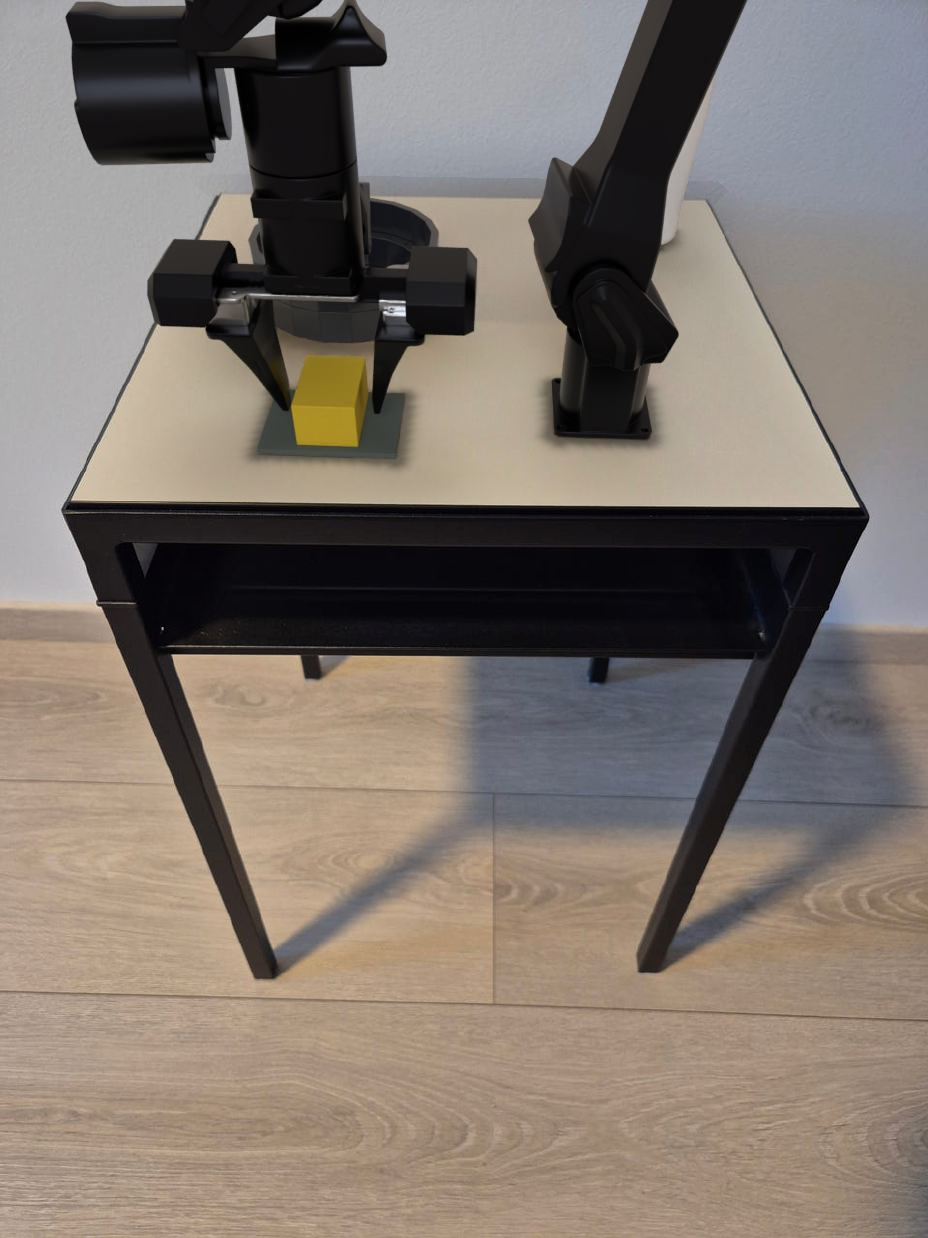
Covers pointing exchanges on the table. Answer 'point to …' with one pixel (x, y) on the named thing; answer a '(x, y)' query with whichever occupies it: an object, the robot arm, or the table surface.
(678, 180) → the white cup
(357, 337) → the bowl
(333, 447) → the mat
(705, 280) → the table surface
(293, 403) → the sponge
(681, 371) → the table surface
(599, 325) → the robot arm
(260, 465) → the table surface
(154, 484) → the table surface
